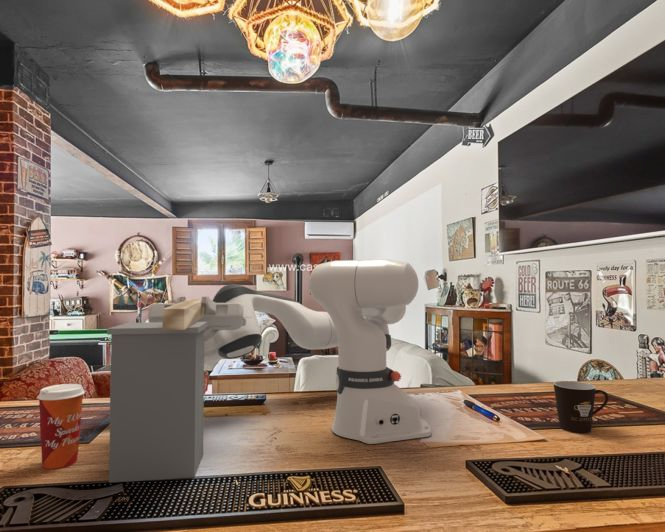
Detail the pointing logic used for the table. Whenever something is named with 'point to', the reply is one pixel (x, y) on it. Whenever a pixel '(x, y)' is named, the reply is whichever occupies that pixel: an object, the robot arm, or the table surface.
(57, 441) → the paper cup
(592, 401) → the coffee mug
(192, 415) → the tall grey block
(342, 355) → the robot arm
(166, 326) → the tan wooden bar
